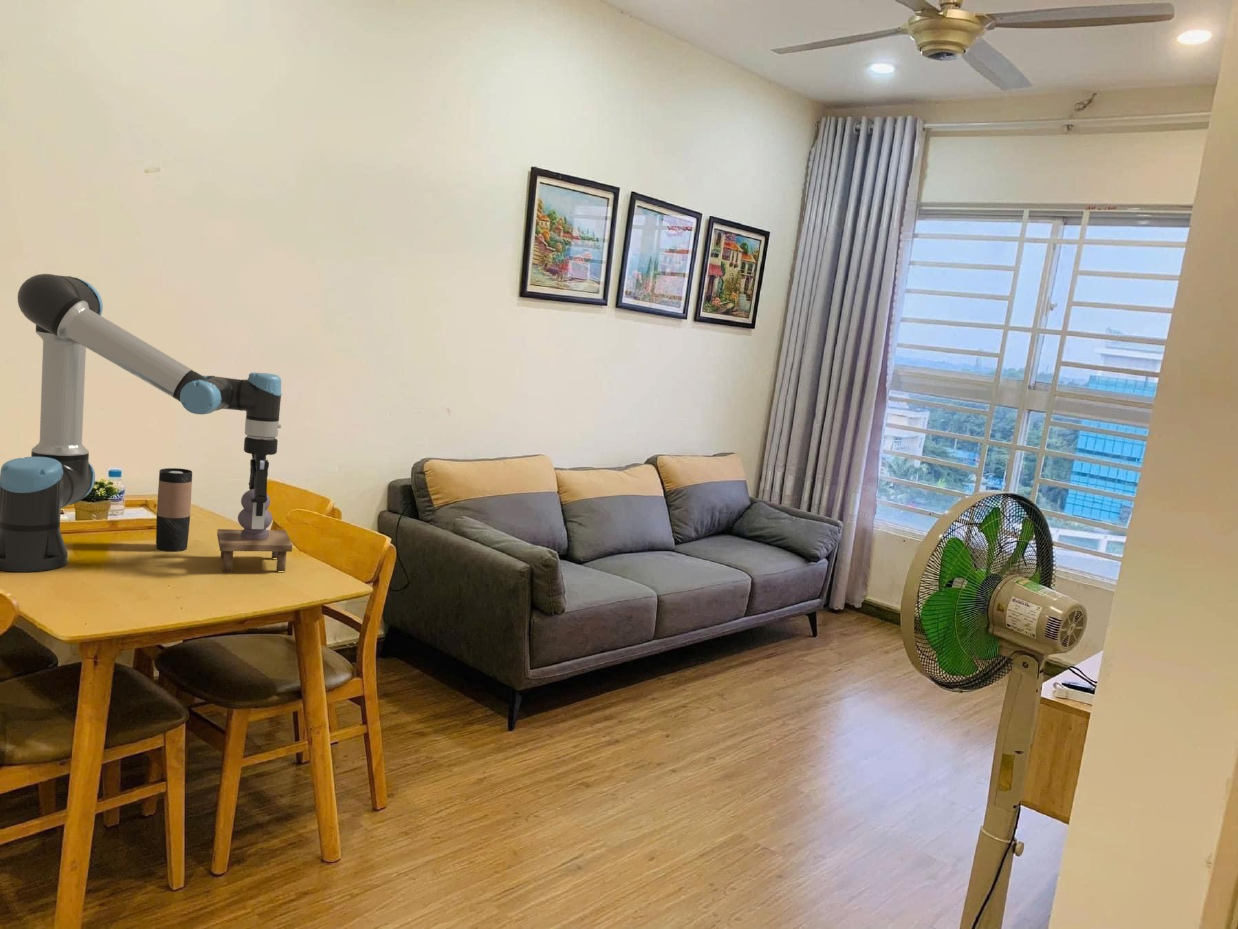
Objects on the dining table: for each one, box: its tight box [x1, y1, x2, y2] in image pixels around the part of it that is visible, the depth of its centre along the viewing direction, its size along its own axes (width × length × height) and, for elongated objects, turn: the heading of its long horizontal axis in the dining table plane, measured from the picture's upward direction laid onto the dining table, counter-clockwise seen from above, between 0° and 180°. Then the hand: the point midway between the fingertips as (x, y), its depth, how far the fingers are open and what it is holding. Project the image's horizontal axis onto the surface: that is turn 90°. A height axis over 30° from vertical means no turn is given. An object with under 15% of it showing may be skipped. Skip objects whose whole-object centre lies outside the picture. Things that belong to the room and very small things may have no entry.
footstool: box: [216, 528, 293, 574], centre depth 225 cm, size 16×16×7 cm
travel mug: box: [155, 467, 193, 553], centre depth 230 cm, size 8×8×20 cm
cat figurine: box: [237, 489, 273, 540], centre depth 223 cm, size 8×8×12 cm
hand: (255, 522), depth 224 cm, fingers open, 13 cm apart
